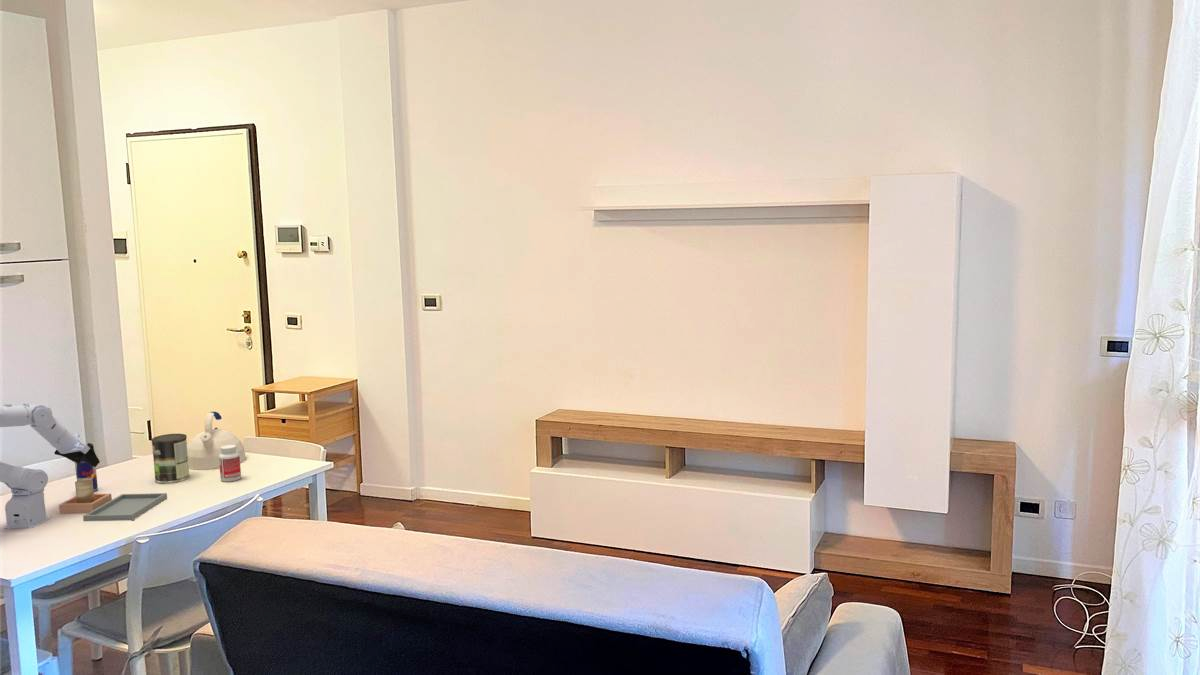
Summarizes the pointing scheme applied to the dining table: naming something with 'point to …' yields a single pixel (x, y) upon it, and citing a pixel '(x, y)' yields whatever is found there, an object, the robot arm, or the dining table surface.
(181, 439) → the coffee can
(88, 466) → the energy drink
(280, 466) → the dining table surface
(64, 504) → the square terracotta tray
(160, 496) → the slate tray
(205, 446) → the kettle
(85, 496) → the birch peg
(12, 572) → the dining table surface
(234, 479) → the pill bottle
